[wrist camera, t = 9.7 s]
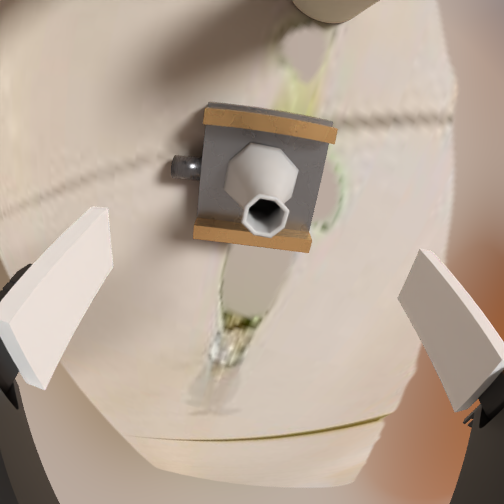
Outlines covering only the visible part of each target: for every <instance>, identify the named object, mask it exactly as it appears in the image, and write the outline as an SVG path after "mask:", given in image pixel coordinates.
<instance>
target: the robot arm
mask: <svg viewBox="0 0 504 504" xmlns="http://www.w3.org/2000/svg"><path fill="white" fill-rule="evenodd" d="M113 267H114V266H113V257H112V248H111V238H110V226H109V211H108V208H105V207H94V206H92V207H91V208H89V209H88V210H87V211H86V212H85V213H84V214H83V215H82V216H81V217H80V218H78V219H77V220H76V221H75V222H74V223H73V224H72V225H71V226H70V227H69V228H68V229H67V230H66V231H65V232H64V233H63V234H62V235H61V236H60V237H59V238H58V239H57V240H56V241H55V242H54V243H53V244H52V245H51V246H50V247H49V248H48V249H47V250H46V251H45V252H44V253H43V254H42V255H41V256H40V257H39V258H38V259H37V260H36V261H35V262H34V263H33V264H29V265H27V266H25V267H24V268H22V269H21V270H19V271H18V272H17V273H16V274H15V275H14V276H13V277H12V278H11V279H10V282H9V283H7V284H6V285H5V286H4V287H3V290H2V291H0V504H60V503H59V501H58V499H57V497H56V495H55V493H54V491H53V489H52V487H51V484H50V482H49V480H48V478H47V475H46V473H45V471H44V468H43V465H42V463H41V460H40V458H39V455H38V453H37V450H36V447H35V444H34V441H33V438H32V435H31V432H30V428H29V425H28V422H27V418H26V415H25V411H24V407H23V403H22V399H21V395H20V391H19V386H18V384H17V382H16V380H15V377H16V376H17V374H18V372H20V374H21V375H22V377H23V379H24V380H25V382H26V383H28V384H30V385H33V386H35V387H38V388H40V389H43V390H46V388H47V385H48V383H49V381H50V379H51V377H52V374H53V373H54V371H55V369H56V367H57V365H58V363H59V361H60V359H61V357H62V355H63V353H64V351H65V349H66V347H67V345H68V343H69V341H70V340H71V338H72V336H73V334H74V332H75V330H76V329H77V327H78V325H79V323H80V321H81V320H82V318H83V316H84V314H85V313H86V311H87V309H88V307H89V306H90V304H91V302H92V301H93V299H94V297H95V296H96V294H97V292H98V291H99V289H100V287H101V286H102V284H103V283H104V281H105V279H106V278H107V276H108V275H109V273H110V271H111V270H112V268H113ZM398 300H399V302H400V303H401V305H402V307H403V309H404V310H405V312H406V314H407V316H408V318H409V319H410V321H411V323H412V325H413V327H414V329H415V330H416V332H417V334H418V336H419V338H420V340H421V342H422V344H423V346H424V347H425V350H426V352H427V354H428V356H429V357H430V360H431V361H432V363H433V366H434V368H435V370H436V372H437V374H438V376H439V378H440V380H441V382H442V384H443V387H444V389H445V391H446V393H447V396H448V398H449V400H450V402H451V405H452V407H453V409H454V411H455V412H458V411H462V410H466V409H468V408H469V407H470V406H471V405H472V404H473V403H474V402H475V401H476V400H477V399H479V401H480V403H481V404H480V405H479V406H478V407H477V408H476V409H475V410H474V411H473V412H472V413H471V414H470V415H469V416H467V417H466V418H465V420H464V422H463V423H464V424H465V423H467V422H468V421H469V420H470V419H473V420H472V421H471V422H470V423H469V424H468V426H469V427H472V429H471V434H470V438H469V443H468V447H467V451H466V454H465V459H464V462H463V465H462V469H461V472H460V476H459V479H458V482H457V485H456V488H455V491H454V493H453V496H452V499H451V502H450V504H504V342H503V340H502V339H501V338H500V336H499V335H498V333H497V332H496V331H495V329H494V327H493V326H492V325H491V323H490V322H489V320H488V319H487V318H486V316H485V315H484V314H483V312H482V311H481V310H480V308H479V307H478V306H477V304H476V303H475V302H474V300H473V299H472V298H471V296H470V295H469V294H468V293H467V291H466V290H465V289H464V288H463V286H462V285H461V284H460V283H459V282H458V280H456V278H455V277H454V276H453V274H452V273H451V272H450V271H449V270H448V268H447V267H446V266H445V265H444V264H443V263H442V262H441V260H440V259H439V258H438V257H437V256H436V255H435V254H434V253H433V251H430V250H424V249H419V252H418V254H417V257H416V259H415V261H414V264H413V266H412V268H411V270H410V273H409V275H408V277H407V279H406V281H405V283H404V286H403V288H402V290H401V292H400V294H399V296H398Z"/></svg>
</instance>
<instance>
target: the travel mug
mask: <svg viewBox="0 0 504 504" xmlns="http://www.w3.org/2000/svg"><path fill="white" fill-rule="evenodd" d="M292 1H293V3H294V4H295V5H296V7H297V8H298V9H299V10H300V11H302V12H303V13H304V14H305V15H307V16H309V17H311V18H313V19H315V20H318V21H321V22H325V23H342V22H346V21H348V20H350V19H352V18H354V17H355V16H357V15H358V14H360V13H361V12H363V11H364V10H366V9H367V8H369V7H370V6H372V5H373V4H375V3H376V2H378V1H380V0H292Z"/></svg>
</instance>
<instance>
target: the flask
mask: <svg viewBox="0 0 504 504" xmlns="http://www.w3.org/2000/svg"><path fill="white" fill-rule="evenodd" d="M298 171H299V170H298V169H297V167H296V166H295V165H294V164H293V163H292V162H291V160H290V159H289V158H288V157H287V156H286V155H285V153H284V152H283V151H282V150H281V149H280V148H276V147H271V146H266V145H262V144H257V143H252V142H250V143H249V144H248V145H247V146H246V147H245V148H243V149H242V150H241V151H240V152H239V153H238V154H237V155H235V156H234V157H233V158H232V159H231V160H230V161H229V162H228V166H227V172H226V177H225V183H224V188H223V189H224V190H225V191H226V192H227V193H228V194H229V195H230V196H231V197H232V198H233V199H234V200H235V201H236V202H237V203H238V205H239V206H240V207H241V208H242V209H244V210H243V215H242V220H241V223H242V224H243V225H244V226H245V227H246V228H247V229H248V230H249V231H250V232H251V233H252V234H253V235H256V236H261V237H267V238H272V237H273V236H275V235H276V234H277V233H278V232H280V231H281V230H282V229H284V228H285V225H286V221H287V218H288V214H289V209H288V208H287V207H286V206H285V205H284V204H285V202H287V201H288V200H289V199H290V198H291V197H292V194H293V190H294V187H295V183H296V179H297V175H298Z"/></svg>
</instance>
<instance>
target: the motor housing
mask: <svg viewBox="0 0 504 504" xmlns="http://www.w3.org/2000/svg"><path fill="white" fill-rule="evenodd" d="M203 124H206V127H205V136H204V145H203V155H202V158H201V157H190V156H179V155H175V156H174V158H173V161H172V166H171V176H172V178H178V179H189V180H198V181H200V187H199V198H198V211H197V219H196V221H195V224H194V231H193V239H200V240H208V241H216V242H225V243H233V244H241V245H249V246H257V247H265V248H273V249H281V250H289V251H297V252H304V253H309V250H310V247H311V243H312V239H311V236H310V234H309V229H310V225H311V221H312V217H313V212H314V208H315V204H316V200H317V195H318V191H319V186H320V182H321V178H322V173H323V169H324V164H325V159H326V155H327V150H328V145H329V143H331V144H335V140H336V135H337V130H338V129H337V128H334V127H332V125H333V122H332V121H329V120H325V119H320V118H316V117H311V116H306V115H301V114H295V113H290V112H284V111H278V110H272V109H266V108H259V107H252V106H244V105H236V104H227V103H217V102H209V103H208V107H207V108H205V110H204V119H203ZM250 142H252V143H257V144H262V145H266V146H271V147H276V148H280V149H281V150H282V151H283V152H284V153H285V155H286V156H287V157H288V158H289V159H290V160H291V162H292V163H293V164H294V165H295V166H296V167H297V169H298V170H299V171H298V175H297V179H296V183H295V187H294V190H293V194H292V197H291V198H290V199H289V200H288V201H287V202H285V204H284V205H285V206H286V207H287V208H288V209H289V214H288V218H287V221H286V225H285V228H284V229H282V230H281V231H280V232H278V233H277V234H276V235H275V236H273V237H272V238H267V237H261V236H256V235H253V234H252V233H251V232H250V231H249V230H248V229H247V228H246V227H245V226H244V225H243V224H242V223H241V220H242V215H243V210H244V209H242V208H241V207H240V206H239V205H238V203H237V202H236V201H235V200H234V199H233V198H232V197H231V196H230V195H229V194H228V193H227V192H226V191H225V190H224V189H223V188H224V183H225V177H226V172H227V166H228V162H229V161H230V160H231V159H232V158H233V157H234V156H235V155H237V154H238V153H239V152H240V151H241V150H242V149H243V148H245V147H246V146H247V145H248V144H249V143H250Z"/></svg>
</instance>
